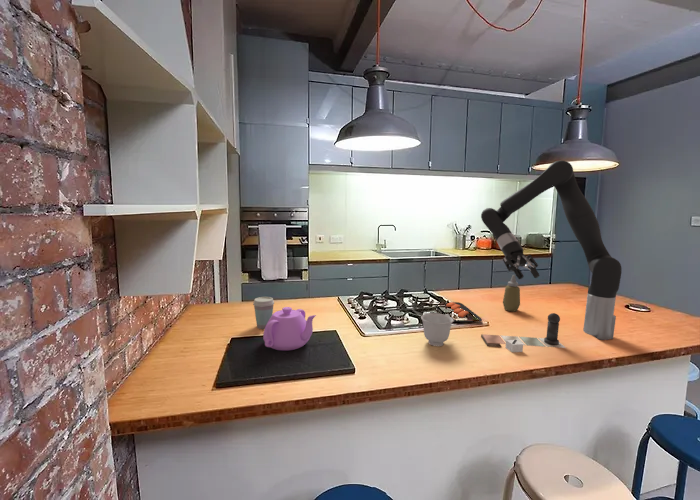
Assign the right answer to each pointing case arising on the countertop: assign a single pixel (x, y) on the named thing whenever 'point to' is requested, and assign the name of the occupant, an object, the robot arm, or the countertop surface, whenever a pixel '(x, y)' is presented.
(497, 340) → the board
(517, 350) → the die
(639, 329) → the countertop surface
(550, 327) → the pawn
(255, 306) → the coffee cup
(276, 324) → the teapot
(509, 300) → the squeeze bottle
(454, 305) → the sushi plate
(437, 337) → the teacup
